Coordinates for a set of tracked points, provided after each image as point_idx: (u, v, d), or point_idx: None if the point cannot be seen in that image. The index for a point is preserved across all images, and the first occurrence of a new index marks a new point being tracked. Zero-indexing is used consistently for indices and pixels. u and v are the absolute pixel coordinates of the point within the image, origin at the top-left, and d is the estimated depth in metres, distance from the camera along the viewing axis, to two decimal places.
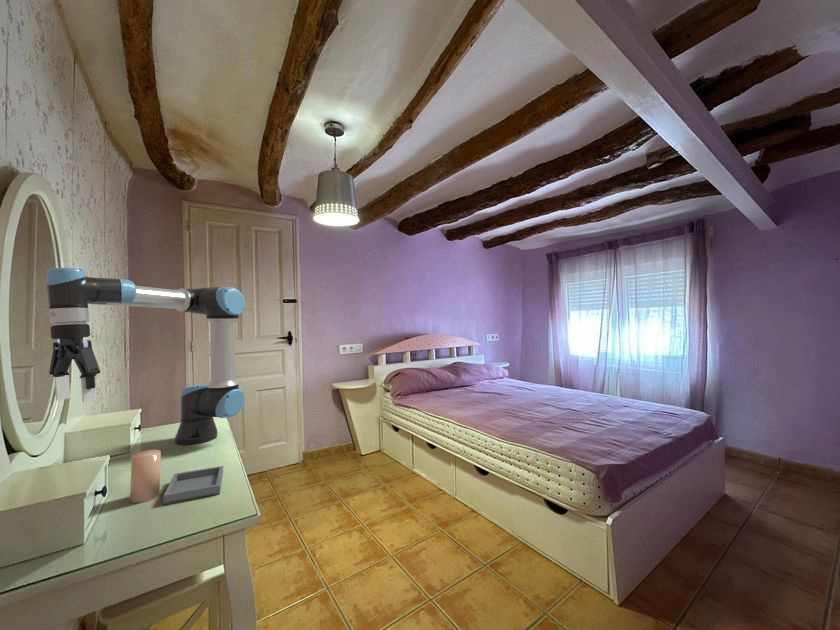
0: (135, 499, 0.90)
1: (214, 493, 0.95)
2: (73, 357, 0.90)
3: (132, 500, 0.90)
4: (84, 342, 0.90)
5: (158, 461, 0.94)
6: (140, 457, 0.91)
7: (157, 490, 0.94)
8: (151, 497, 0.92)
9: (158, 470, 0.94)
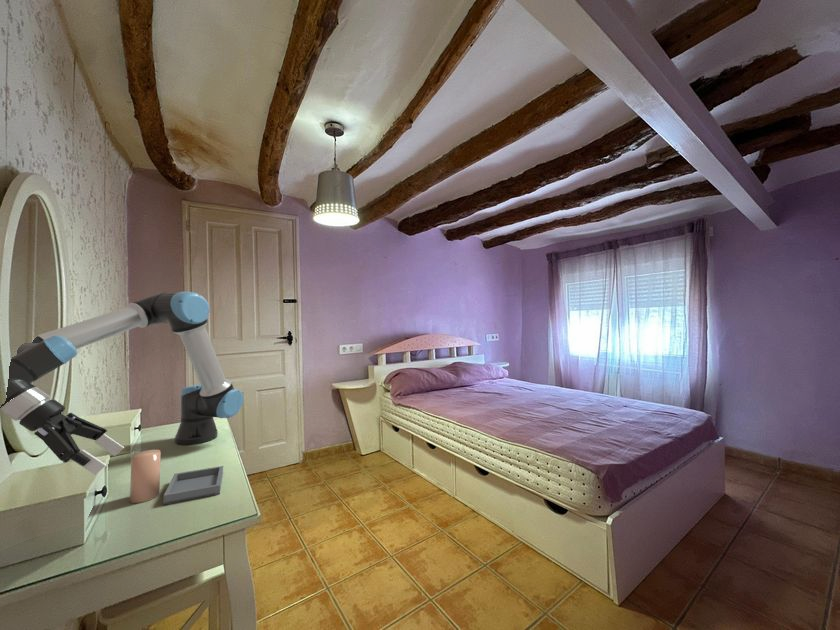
0: (135, 499, 0.90)
1: (214, 493, 0.95)
2: None
3: (132, 500, 0.90)
4: (39, 431, 0.79)
5: (158, 461, 0.94)
6: (140, 457, 0.91)
7: (157, 490, 0.94)
8: (151, 497, 0.92)
9: (158, 470, 0.94)
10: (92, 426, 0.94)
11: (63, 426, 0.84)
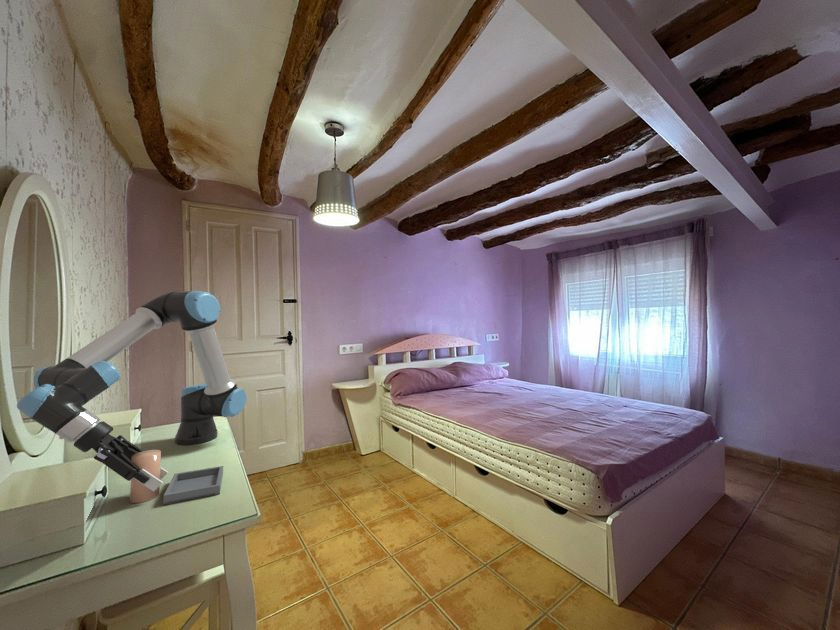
0: (135, 499, 0.90)
1: (214, 493, 0.95)
2: None
3: (132, 500, 0.90)
4: (99, 456, 0.84)
5: (158, 461, 0.94)
6: (140, 457, 0.91)
7: (157, 490, 0.94)
8: (151, 497, 0.92)
9: (158, 470, 0.94)
10: (137, 450, 0.97)
11: (116, 447, 0.89)
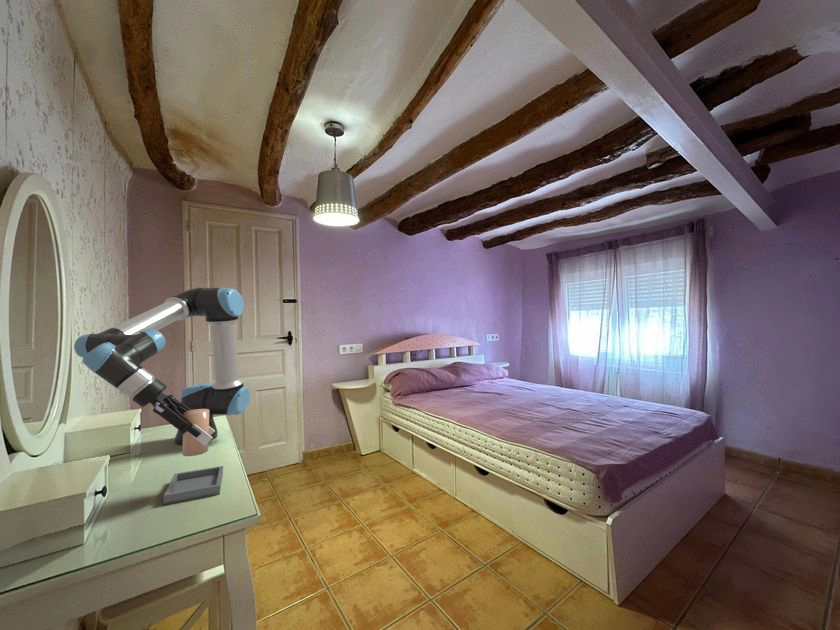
0: (188, 452, 0.96)
1: (214, 493, 0.95)
2: None
3: (185, 453, 0.96)
4: (157, 409, 0.90)
5: (207, 418, 1.00)
6: (192, 413, 0.97)
7: (207, 445, 0.99)
8: (202, 451, 0.98)
9: (207, 427, 1.00)
10: (186, 409, 1.03)
11: (170, 403, 0.95)
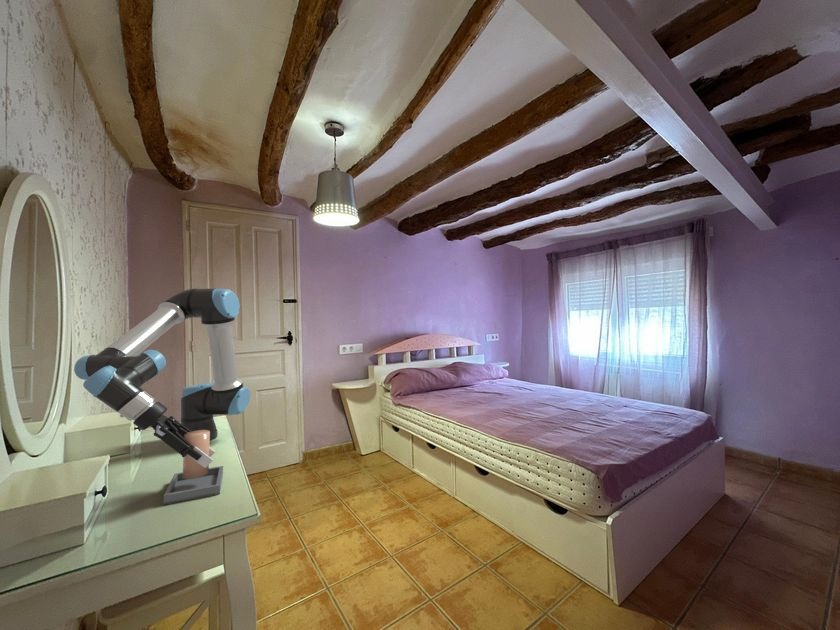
0: (188, 475, 0.96)
1: (214, 493, 0.95)
2: None
3: (185, 476, 0.96)
4: (158, 433, 0.90)
5: (208, 440, 1.00)
6: (193, 435, 0.97)
7: (207, 467, 0.99)
8: (202, 473, 0.97)
9: (208, 448, 1.00)
10: (187, 430, 1.02)
11: (171, 426, 0.94)
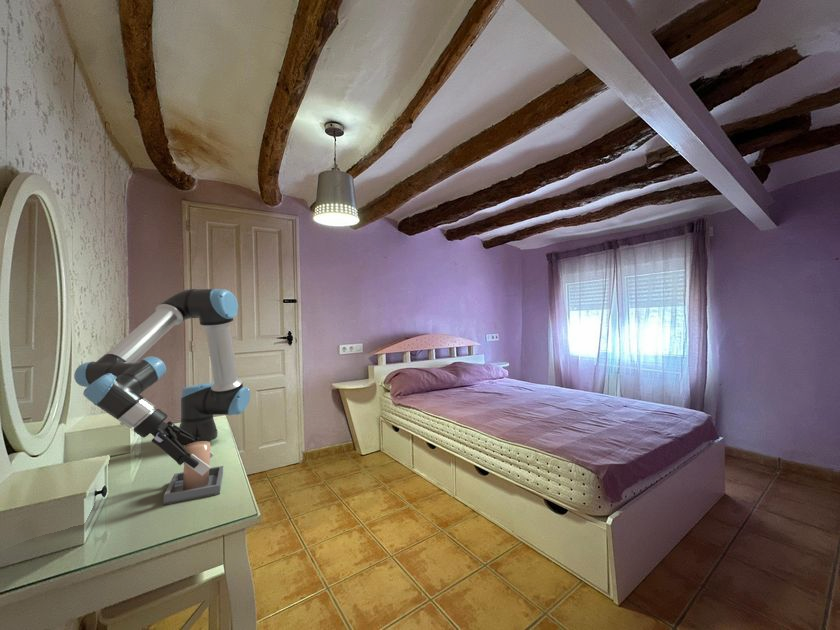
0: (189, 487, 0.96)
1: (214, 493, 0.95)
2: None
3: (186, 488, 0.96)
4: (156, 439, 0.89)
5: (208, 451, 1.00)
6: (193, 447, 0.97)
7: (207, 479, 0.99)
8: (203, 485, 0.98)
9: (208, 460, 1.00)
10: (186, 434, 1.04)
11: (170, 433, 0.94)
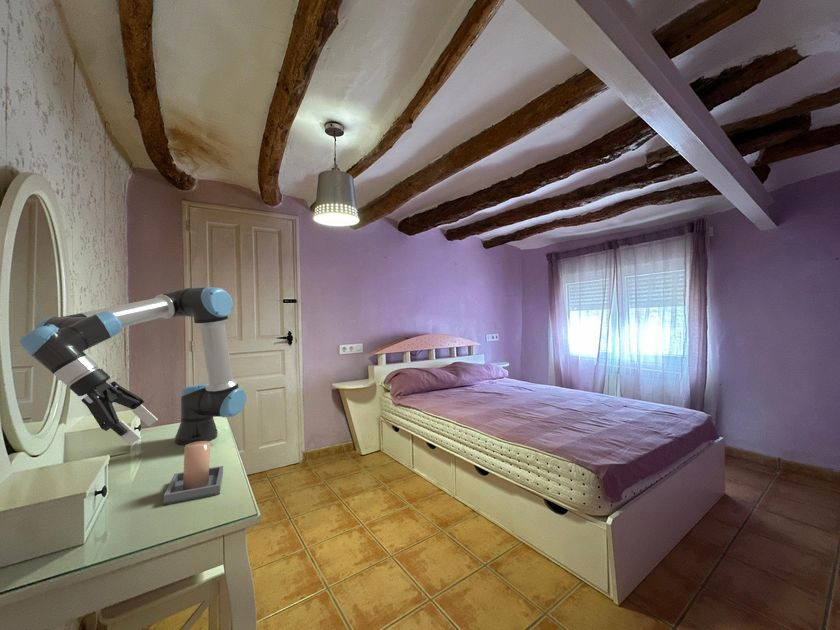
0: (188, 486, 0.96)
1: (214, 493, 0.95)
2: None
3: (186, 487, 0.96)
4: (86, 398, 0.84)
5: (208, 451, 1.00)
6: (193, 447, 0.97)
7: (207, 479, 0.99)
8: (203, 485, 0.98)
9: (208, 460, 1.00)
10: (131, 396, 1.00)
11: (106, 395, 0.89)
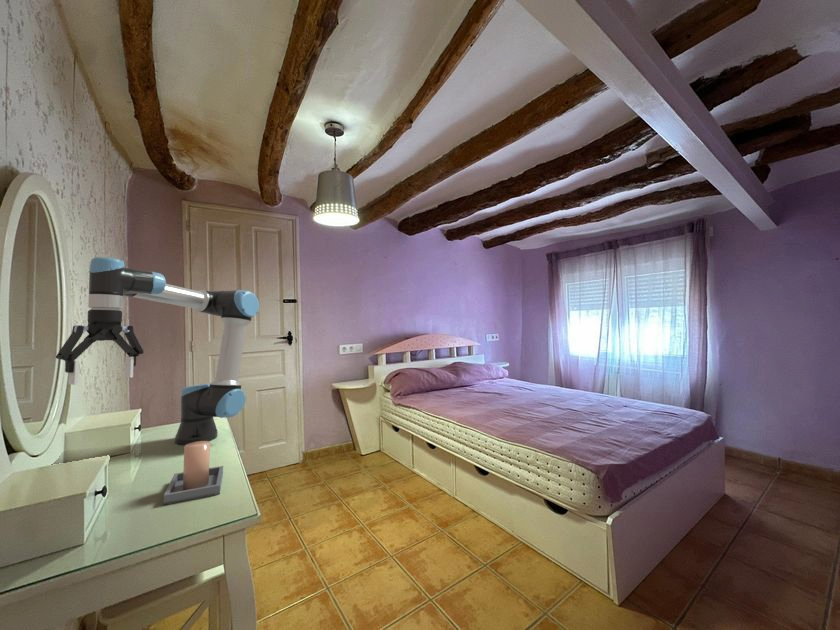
0: (188, 486, 0.96)
1: (214, 493, 0.95)
2: None
3: (185, 487, 0.96)
4: (75, 327, 0.93)
5: (208, 451, 1.00)
6: (192, 447, 0.97)
7: (207, 479, 0.99)
8: (202, 485, 0.98)
9: (208, 460, 1.00)
10: (135, 345, 1.06)
11: (96, 334, 0.96)
